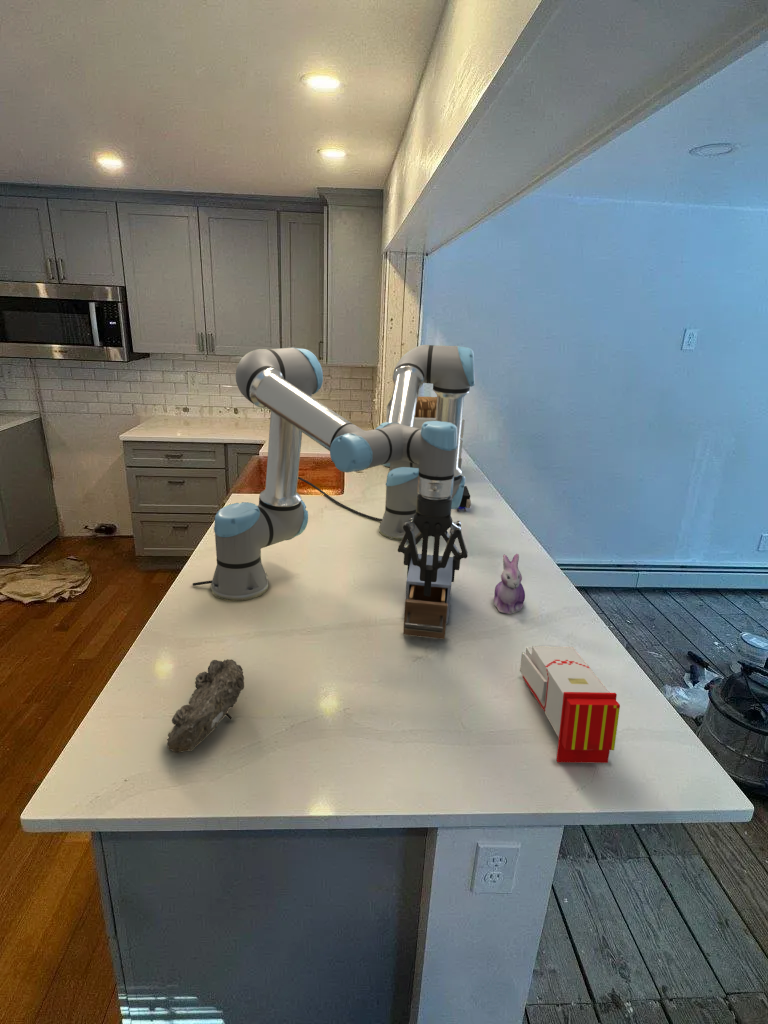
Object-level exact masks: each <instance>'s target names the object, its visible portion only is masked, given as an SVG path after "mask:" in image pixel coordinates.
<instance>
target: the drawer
mask: <svg viewBox="0 0 768 1024" xmlns="http://www.w3.org/2000/svg"><path fill="white" fill-rule="evenodd" d="M445 591H446V588H442V587H432V586H431V593H430V597H429V596H424V586H422V585H412V586H411V591H410V596H409V599H406V600H405V599H404V611H403V613H404V615H403V629H402V630H403V632H402V634H403V635H405V636H414V637H422V638H432V639H439V640H445V638H446V630H447V629H446V628H447V627H446V626H447V624H446V618H447V607H448V603H445Z"/></svg>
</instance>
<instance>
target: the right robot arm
mask: <svg viewBox="0 0 768 1024" xmlns="http://www.w3.org/2000/svg"><path fill="white" fill-rule="evenodd" d="M475 379H476V378H475V353H474V350H473V349H472V348H471V347H467V346H461V345H435V344H434V345H433V344H421V345H418V346H415V347H413V348H411V349H410V350H408V351H407V352H405V354H404V355H402V356H401V358H399V360H398V361H397V363H396V365H395V367H394V370H393V373H392V382H393V384H394V385H393V389H392V393H391V394H392V395H391V398H392V399H391V398H390V400H391V404H390V409H389V414H388V419H387V422H390V423H399V424H402V425H406V426H411V427H413V423H414V417H415V411H416V405H417V398H418V397H419V392H420V388H422V387H423V386H424V384H430V385H432V391H433V392H434V393H435V395H436V397H437V404H436V418H435V421H441V422H449V423H452V424H454V425H455V426H456V427H457V450H456V458H455V467H454V483H453V494H452V495H451V498H452V506H451V510H457V508H458V507H459V506H460V503H461V499H462V495H463V491H464V486H466V485H465V484H466V477H465V476H464V475H463V474H462V473H463V472H462V469H461V470H460V469H459V467H458V459H459V447H460V439H461V438H460V436H461V425H462V419H463V414H464V403H465V397H466V396H467V395H468V394H469V393H470V388H472V387H474V386H475V385H476V384H475V383H476V381H475ZM382 466H383V467H387V466H396V467H400V468H396V469H393V470H391V471H390V470H389V471H388V473H387V475H386V482H385V504H384V505H385V507H384V508H385V509H384V513H383V515H382V518H380V517H379V518H378V517H375V516H373V515H369V514H366V513H363V512H360V511H358V510H356V509H353V508H351V507H349V506H347V505H345V504H343V503H341V502H339V501H338V500H336V499H335V498H333V497H332V496H331V495H329V494H327V493H326V492H324V491H323V490H322V489H320V488H319V487H318V486H316V485H315V484H313V483H312V482H310V481H308V480H306V479H305V478H302V477H300V476H298V480H300V481H302V482H303V483H305V484H307V485H309V486H311V487H313V488H314V489H315V490H317V491H318V492H319V493H320V494H322V495H323V496H325V497H326V498H327V499H329V500H330V501H332V502H333V503H335V504H337V505H339V506H340V507H342V508H344V509H346V510H348V511H349V512H352V513H353V514H356V515H359V516H361V517H364V518H367V519H370V520H373V521H377V522H379V526H378V533H379V534H380V535H381V536H382V537H385V538H387V539H389V540H395V541H400V542H399V545H398V547H397V552H398V553H402V554H403V566H407V568H406V577H407V576H408V571H409V567H410V562H411V552H410V547H409V544H407V542H408V537H407V534H406V532H405V531H404V529H403V525H404V522H405V521H408V522H409V521H410V520H412V519H413V518H414V515H415V514H416V504H417V495H418V494H419V493H418V492H417V489H418V474H419V464H415V463H411V462H407V461H402V460H399V461H395V462H391V463H387V464H383V465H382ZM452 522H453V523H454V524H455V525H457V526H461V527H462V522H461V520H457V521H452ZM413 531H414V536H415V541H416V546H417V545H418V544H419V543H420V542H421V540H422V538H423V535H422V534H421V533H420V531H419V530H418V528H417V527H416V525H414V530H413ZM441 537H442V539H443V541H444V542H445V543H446V544H447V542H448V540H449V537H450V532H448V530H447V531H446V532H445V533H444V534H443V535H442V536H441ZM456 539H457V541H458V544H459V549H460V550H459V549H458V547H457V546H456V544H455V543H454V546H453V548H452V551H451V554H452V555H453V556H452V557H453V567H452V583H455V576H456V575H455V574H456V571H459V570H460V567H461V560H462V559H467V558H468V549H467V545H466V543H465V539H464V536H463V532H462V531H461V534H460V535H459V536H458V537H457V538H456ZM406 544H407V546H406ZM405 546H406V547H405Z"/></svg>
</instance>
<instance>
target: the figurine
mask: <svg viewBox="0 0 768 1024" xmlns="http://www.w3.org/2000/svg"><path fill="white" fill-rule="evenodd" d="M511 559H512V560H510V559H509V557H508V555H506V554H503V555H502V565H503V566H502V567H503V570H502V572H501V574H500V579H501V581H499V582H498V583H497V584H496V585H495V588H494V597H493V606H494V607H495V608H496V609H497V611H498V612H499V613H503V614H510V615H512V614H514V613H518V612H520V611H521V610H522V609H523V606H524V603H525V599H526V592H525V589H524V585H523V584H522V580H523V576H522V573H521V570H520V569H519V561H520V555H519V553H515V554H514V555H513V557H512V558H511Z"/></svg>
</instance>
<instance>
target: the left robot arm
mask: <svg viewBox="0 0 768 1024" xmlns="http://www.w3.org/2000/svg"><path fill="white" fill-rule="evenodd" d="M236 365H237V366H236V370H235V382H236V386H237V388H238V390H239V392H240V393H241V395H242V396H243V397H244V398H245V399H246V400H248V401H249V402H250V403H251V404H253V405H254V406H255V407H257V408H261V409H264V408H266V409H267V410H269V411H270V415H269V416H270V418H269V431H268V432H269V433H268V446H267V461H266V476H265V489H264V490H262V491H261V492H260V493H259V497H258V505H257V504H256V503H254V502H249V501H248V502H247V501H242V502H240V503H239V502H235V503H230V504H228V505H225V506H223V507H221V508H220V509H218V511H217V512H216V513H215V516H214V525H213V526H214V527H213V532H214V537H215V539H214V541H215V551H216V552H215V553H216V554H215V555H216V566H215V569H214V573H213V577H212V579H211V580H204V581H197V582H193V583H192V586H193V587H196V586H203V585H209V584H211V585H210V588H211V593H212V594H213V595H214V596H215V597H216V598H219V599H221V600H223V601H229V602H230V601H231V602H242V601H249V600H253V599H255V598H258V597H260V596H262V595H264V594H265V593H266V592H267V591H268V589H269V579H268V577H269V576H268V573H267V572H266V570H265V568H264V566H263V563H262V556H261V555H262V551H261V549H264V548H267V547H269V546H270V547H271V546H273V545H275V544H278V543H282V542H284V541H290V540H292V539H294V538H295V537H298V536H300V535H301V534H302V533H303V532H305V530H306V528H307V526H308V522H309V511H308V510H307V505H306V503H305V501H303V500H302V496H301V495H300V493H298V482H299V479H298V477H299V471H300V461H301V450H302V439H303V434H304V435H305V436H307V437H308V438H310V439H311V440H313V441H314V442H316V443H317V444H318V445H320V446H321V447H323V448H324V449H326V450H327V451H328V452H329V456H330V459H331V462H332V463H333V464H334V467H335V468H336V469H337V470H339V471H340V472H342V473H352V472H356V473H357V472H361V471H365V470H368V469H371V468H375V467H378V466H384V465H383V464H387V463H391V462H395V461H399V460H402V461H407V462H411V463H415V464H419V474H418V489H417V492H418V493H419V494H418V495H417V504H416V514H415V515H414V518H413V519H412V520H410V521H409V522H408V521H405V522H404V525H403V529H404V531H405V532H406V534H407V537H408V540H407V542H408V545H409V547H410V552H411V558H412V563H413V565H415V566H416V565H417V566H419V567H420V581H425V582H424V596H429V597H430V593H431V582H436V581H437V570H438V569H439V568H445V567H446V565H447V562H448V559H449V557H451V554H452V548H453V546H454V544H455V542H456V540H457V539H458V538H457V537H458V536H459V535H460V534H461V532H462V525H461V526H457V525H455V524H454V523H453V522H454V521H453V517H452V509H451V506H452V498H451V495H452V494H453V483H454V467H455V458H456V450H457V427H456V426H455V425H454V424H452V423H449V422H441V421H427V422H425V423H423V425H422V428H421V429H420V428H415V427H411V426H406V425H402V424H399V423H390V422H386V421H385V422H381V423H380V424H379V425H378V426H376V428H375V429H369V430H364V429H362V428H360V427H359V426H358V425H355V424H354V423H352V422H351V421H349V420H348V419H346V418H344V416H341V415H340V414H338V413H337V412H335V411H334V410H332V409H331V408H329V407H328V406H326V405H325V404H323V403H321V402H320V401H319V400H317V399H315V398H314V397H313V395H315V394H316V393H318V392H319V390H321V388H322V386H323V382H324V375H323V373H324V371H323V368H322V364H321V363H320V361H319V360H318V357H317V356H316V355H315V354H314V353H313V352H312V351H311V350H309V349H307V348H300V347H283V348H281V347H280V348H257V349H254V350H251V351H249V352H247V353H246V354H245V355H243V356H242V357H241V359H240V360H239V362H238V364H236ZM414 525H416V527H417V528H418V530H419V531H420V533H421V534H422V535H423V538H422V539H421V540H422V541H421V553H420V554H421V559H419V557H418V554H419V553H418V547H417V545H416V541H415V536H414V531H413V530H414ZM448 530H449V536H450V537H449V540H448V542H447V543H446V544H445V545H446V546H445V548H444V551H443V554H442V555H441V556H442V559H441V560H440V561H438V558H439V556H440V545H441V537H442V535H443V534H444V533H445V532H446V531H447V532H448ZM430 537H432V538H433V550H432V551H433V552H432V555H433V563H432V565H426V563H427V555H428V549H429V538H430Z"/></svg>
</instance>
